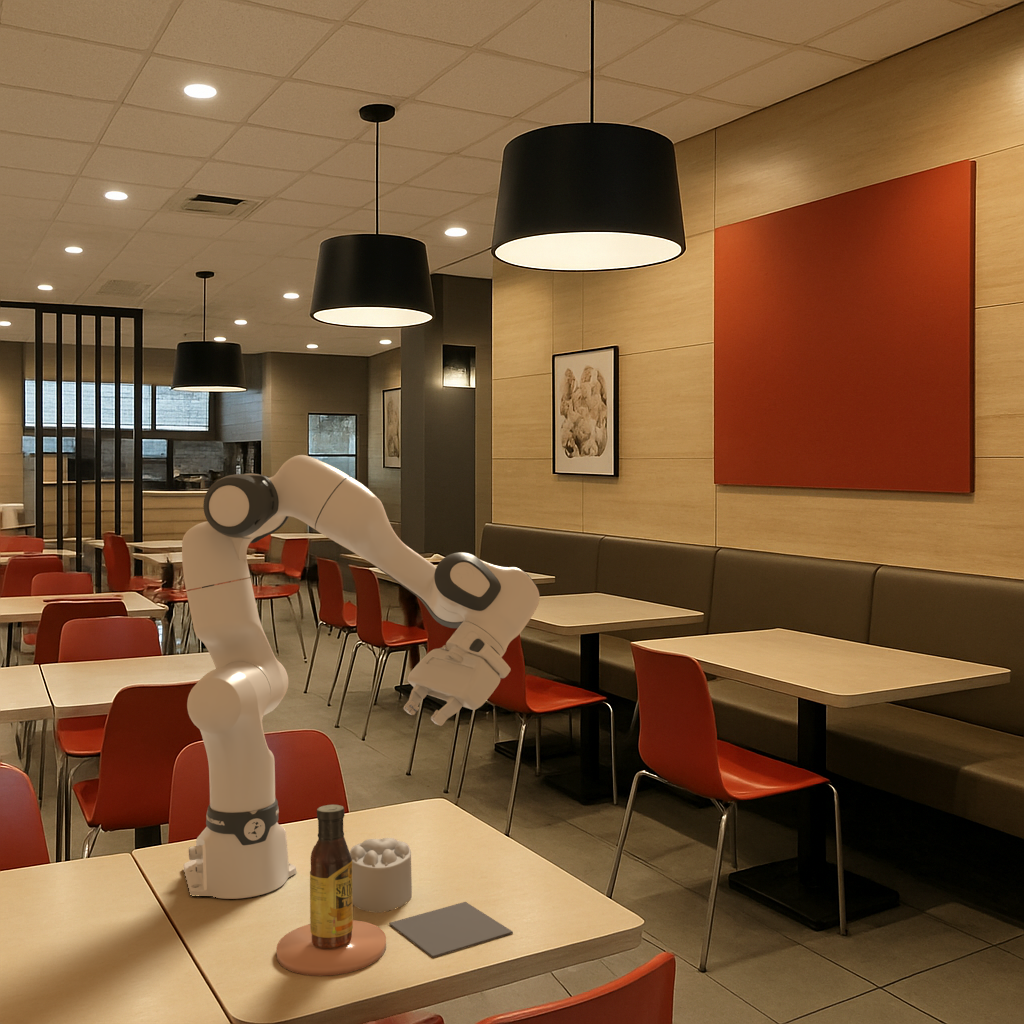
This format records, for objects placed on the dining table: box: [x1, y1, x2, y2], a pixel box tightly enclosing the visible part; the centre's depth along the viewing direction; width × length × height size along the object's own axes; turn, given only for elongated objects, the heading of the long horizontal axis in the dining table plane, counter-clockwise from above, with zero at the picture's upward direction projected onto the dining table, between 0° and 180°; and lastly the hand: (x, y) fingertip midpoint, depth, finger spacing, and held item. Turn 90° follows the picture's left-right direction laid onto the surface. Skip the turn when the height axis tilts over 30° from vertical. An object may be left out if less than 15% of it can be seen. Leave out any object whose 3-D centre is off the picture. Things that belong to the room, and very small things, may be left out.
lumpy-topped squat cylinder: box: [349, 837, 413, 913], centre depth 169 cm, size 10×13×9 cm
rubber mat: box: [389, 901, 514, 959], centre depth 156 cm, size 14×14×1 cm
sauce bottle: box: [309, 804, 354, 949], centre depth 149 cm, size 7×6×20 cm
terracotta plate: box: [276, 919, 387, 977], centre depth 149 cm, size 16×16×1 cm
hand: (421, 717), depth 163 cm, fingers open, 8 cm apart
